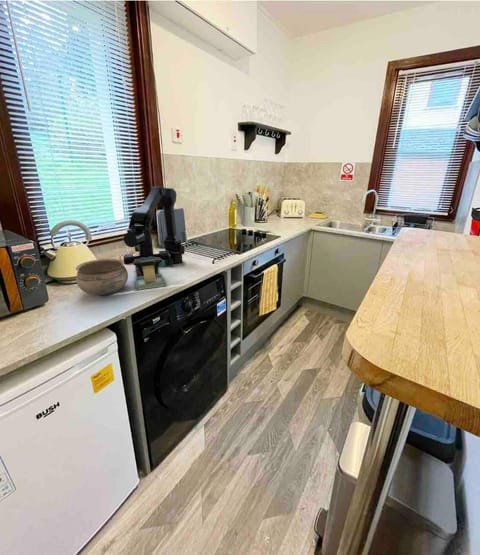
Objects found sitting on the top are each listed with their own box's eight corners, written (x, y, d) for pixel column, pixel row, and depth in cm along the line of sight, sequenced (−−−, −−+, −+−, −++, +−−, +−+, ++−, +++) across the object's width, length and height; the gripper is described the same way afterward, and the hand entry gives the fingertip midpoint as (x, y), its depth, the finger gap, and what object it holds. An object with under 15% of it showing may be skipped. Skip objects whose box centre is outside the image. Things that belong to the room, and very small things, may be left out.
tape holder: (135, 270, 139) (134, 261, 137) (156, 268, 142) (155, 258, 141) (137, 280, 127) (136, 270, 125) (159, 277, 130) (158, 267, 129)
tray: (162, 277, 130) (161, 273, 129) (166, 286, 120) (165, 282, 119) (135, 281, 125) (134, 277, 124) (136, 290, 116) (136, 286, 115)
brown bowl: (66, 294, 112) (59, 266, 108) (108, 279, 127) (103, 254, 123) (103, 309, 100) (97, 278, 96) (144, 291, 115) (141, 264, 111)
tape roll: (143, 277, 124) (141, 264, 121) (154, 276, 126) (152, 262, 123) (145, 285, 118) (143, 270, 115) (156, 283, 120) (154, 269, 117)
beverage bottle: (133, 262, 142) (168, 265, 137) (136, 250, 144) (171, 253, 139) (139, 267, 148) (173, 270, 143) (142, 255, 150) (176, 258, 145)
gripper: (164, 235, 126) (167, 267, 131) (120, 238, 119) (126, 272, 125) (168, 240, 116) (171, 275, 122) (121, 245, 109) (127, 281, 115)
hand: (149, 275), depth 121 cm, fingers closed on tape roll, 4 cm apart
